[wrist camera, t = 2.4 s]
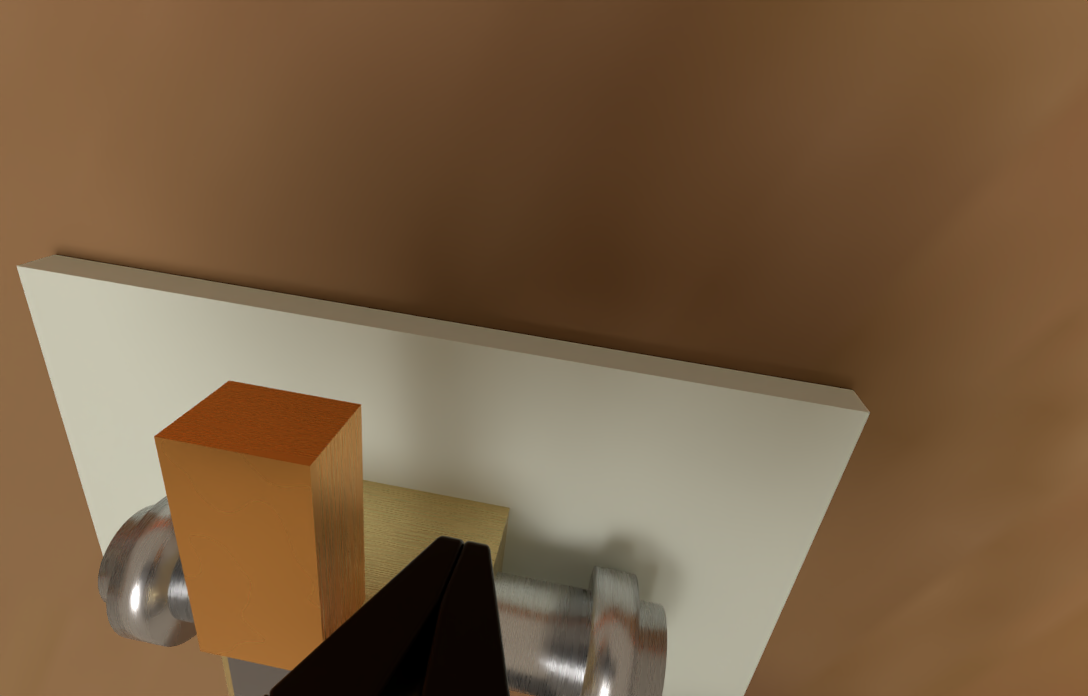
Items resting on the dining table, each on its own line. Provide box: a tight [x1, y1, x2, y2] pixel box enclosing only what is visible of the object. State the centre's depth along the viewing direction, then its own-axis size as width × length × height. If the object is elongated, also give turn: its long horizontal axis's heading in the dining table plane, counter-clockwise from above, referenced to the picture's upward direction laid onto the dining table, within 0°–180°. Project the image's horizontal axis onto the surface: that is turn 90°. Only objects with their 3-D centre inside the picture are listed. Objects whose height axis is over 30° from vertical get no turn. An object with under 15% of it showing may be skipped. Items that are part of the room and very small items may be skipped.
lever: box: [154, 380, 365, 696], centre depth 11 cm, size 12×3×2 cm, turn 174°
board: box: [17, 255, 870, 696], centre depth 19 cm, size 13×24×1 cm, turn 84°
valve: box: [98, 480, 667, 696], centre depth 16 cm, size 16×5×6 cm, turn 83°
